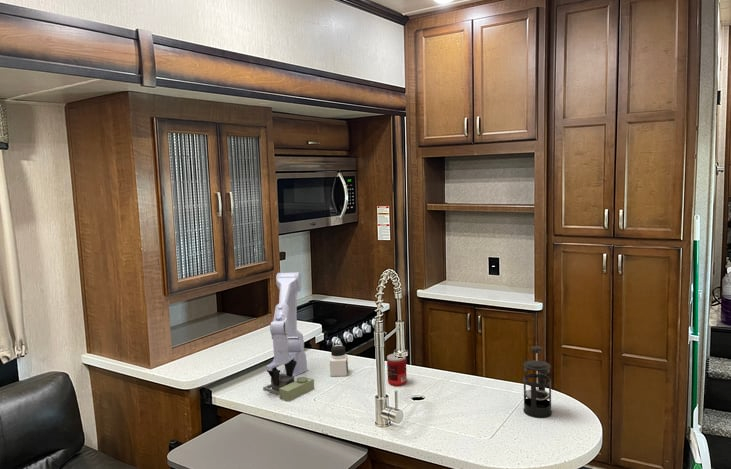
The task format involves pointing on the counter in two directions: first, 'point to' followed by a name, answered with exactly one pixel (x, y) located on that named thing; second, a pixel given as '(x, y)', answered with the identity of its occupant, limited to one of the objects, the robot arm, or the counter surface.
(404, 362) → the canned food
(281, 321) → the robot arm
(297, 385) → the grey frame stand
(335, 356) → the medicine bottle
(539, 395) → the french press
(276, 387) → the chute
